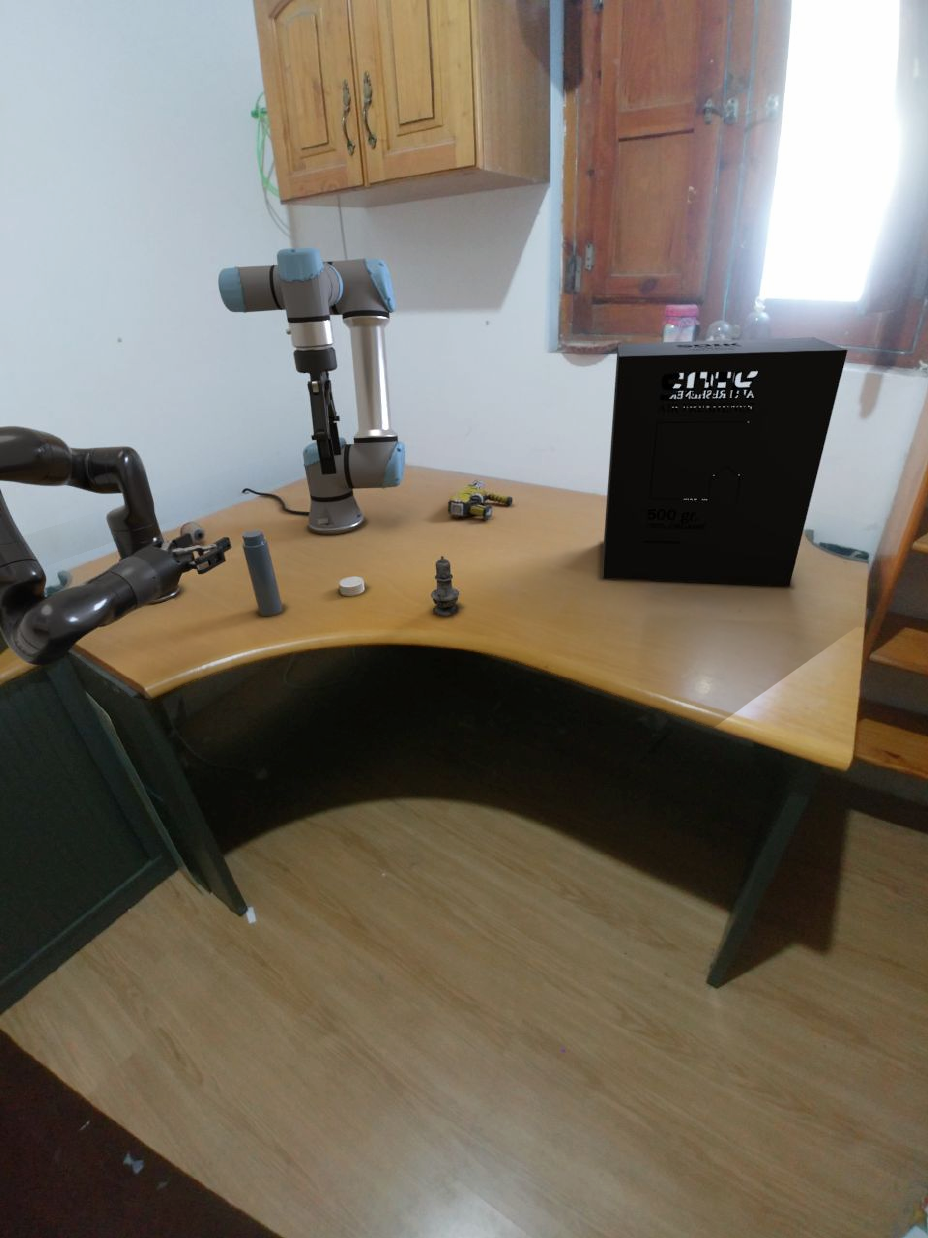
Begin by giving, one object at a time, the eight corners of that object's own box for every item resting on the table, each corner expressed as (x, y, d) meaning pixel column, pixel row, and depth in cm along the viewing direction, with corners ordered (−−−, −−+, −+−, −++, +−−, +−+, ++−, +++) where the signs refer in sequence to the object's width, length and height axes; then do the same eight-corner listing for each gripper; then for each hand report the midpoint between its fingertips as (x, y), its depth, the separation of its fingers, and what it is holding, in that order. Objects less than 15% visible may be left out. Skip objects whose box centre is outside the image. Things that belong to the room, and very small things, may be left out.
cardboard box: (767, 547, 142) (813, 337, 119) (789, 586, 125) (847, 349, 102) (603, 542, 149) (617, 343, 127) (603, 578, 132) (618, 356, 110)
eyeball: (193, 549, 159) (187, 528, 156) (179, 545, 162) (172, 524, 159) (212, 541, 163) (206, 520, 160) (198, 538, 166) (191, 517, 163)
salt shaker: (457, 617, 121) (453, 562, 115) (428, 615, 122) (423, 561, 116) (463, 603, 126) (459, 550, 120) (435, 601, 127) (431, 549, 121)
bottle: (268, 604, 130) (249, 528, 121) (287, 606, 129) (269, 529, 120) (254, 614, 126) (234, 537, 117) (274, 617, 125) (255, 539, 116)
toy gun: (520, 484, 182) (474, 477, 186) (498, 508, 162) (446, 499, 166) (519, 500, 184) (473, 492, 188) (497, 524, 164) (445, 516, 168)
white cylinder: (366, 593, 132) (364, 584, 131) (341, 597, 131) (340, 588, 130) (363, 583, 137) (361, 574, 135) (339, 587, 135) (338, 578, 134)
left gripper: (169, 561, 91) (237, 523, 104) (97, 553, 95) (171, 517, 108) (183, 605, 94) (247, 562, 108) (113, 595, 99) (183, 555, 112)
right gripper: (301, 342, 120) (319, 449, 130) (282, 357, 98) (305, 484, 109) (339, 339, 120) (354, 446, 131) (328, 353, 99) (347, 480, 109)
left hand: (209, 539), depth 108 cm, fingers open, 8 cm apart
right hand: (332, 464), depth 120 cm, fingers open, 13 cm apart
